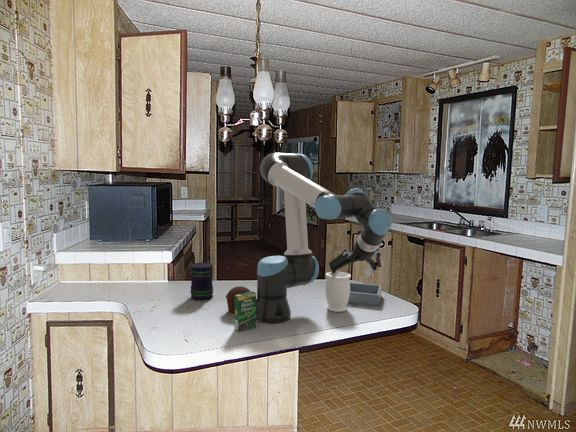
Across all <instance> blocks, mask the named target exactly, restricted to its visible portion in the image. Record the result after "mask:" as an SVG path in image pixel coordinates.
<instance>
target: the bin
mask: <svg viewBox="0 0 576 432" xmlns="http://www.w3.org/2000/svg"><path fill="white" fill-rule="evenodd" d="M381 298H382V285H380V284H370V283H360V282H359V283H358V282H350V294H349V299H348V303H347V304H353V305H354V304H355V305H361V306H371V307H379V306H380V302H381Z"/></svg>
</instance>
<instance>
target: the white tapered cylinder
mask: <svg viewBox="0 0 576 432" xmlns="http://www.w3.org/2000/svg"><path fill="white" fill-rule="evenodd" d="M331 273H332V271H329V272H328V271H327V272H326V273H325V277H326V281H325V286H324V287H325V300H326V303H327V307H326V309H327V310H328V311H330V312H334V313H343V312H345V311H347V310H348V307H347V305H348V304H349V303H348V299H349V294H350V281H351V280H350V279H351V277H352V275H351V273H348V272H346V271H345V272H344V271H339V272H338V274H337V275H336V277H335V279H332V275H331Z"/></svg>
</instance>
